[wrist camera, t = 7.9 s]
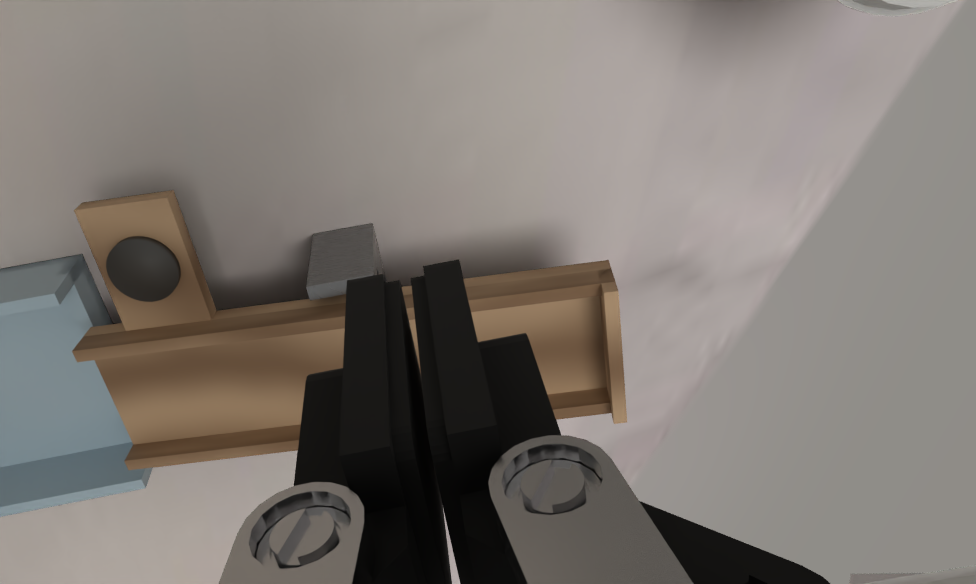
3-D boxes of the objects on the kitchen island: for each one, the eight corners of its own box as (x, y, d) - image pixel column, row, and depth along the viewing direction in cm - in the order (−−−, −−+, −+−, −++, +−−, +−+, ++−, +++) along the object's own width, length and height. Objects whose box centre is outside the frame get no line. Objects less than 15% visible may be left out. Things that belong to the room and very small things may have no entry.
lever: (48, 198, 35) (3, 237, 32) (595, 122, 34) (609, 154, 30) (151, 430, 42) (122, 483, 38) (614, 374, 40) (627, 423, 37)
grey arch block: (313, 234, 40) (306, 286, 35) (372, 223, 40) (373, 274, 35) (354, 384, 45) (352, 449, 40) (407, 373, 45) (412, 437, 40)
